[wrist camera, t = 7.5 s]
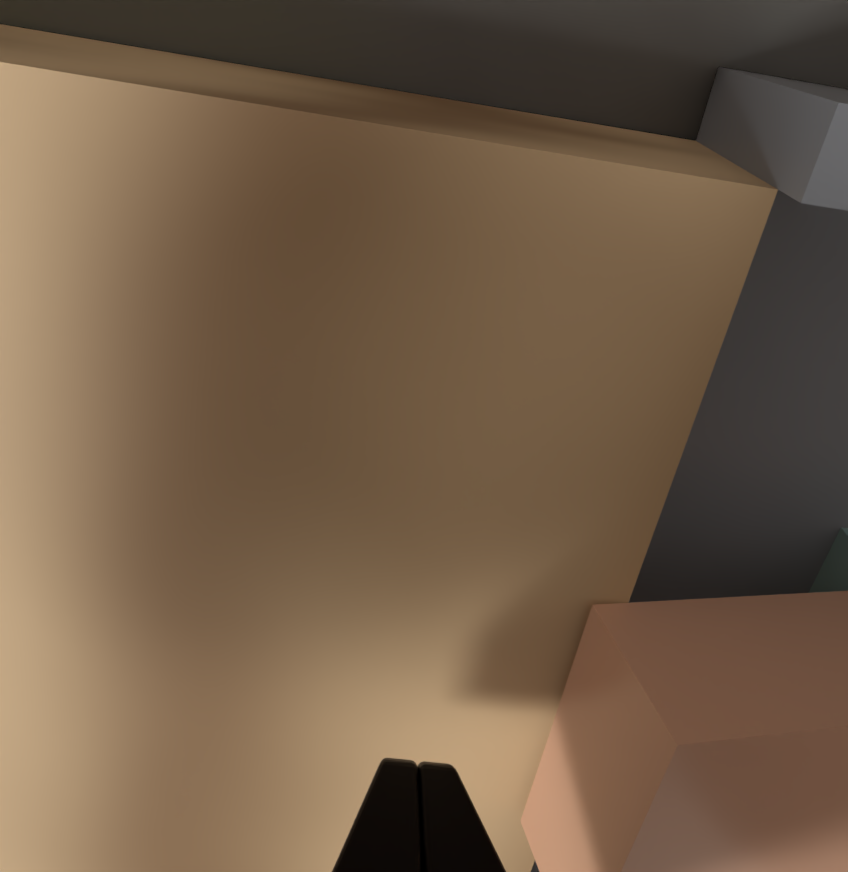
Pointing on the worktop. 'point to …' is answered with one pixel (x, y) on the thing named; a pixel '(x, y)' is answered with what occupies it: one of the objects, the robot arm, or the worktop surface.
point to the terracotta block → (700, 740)
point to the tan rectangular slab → (319, 440)
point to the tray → (769, 365)
